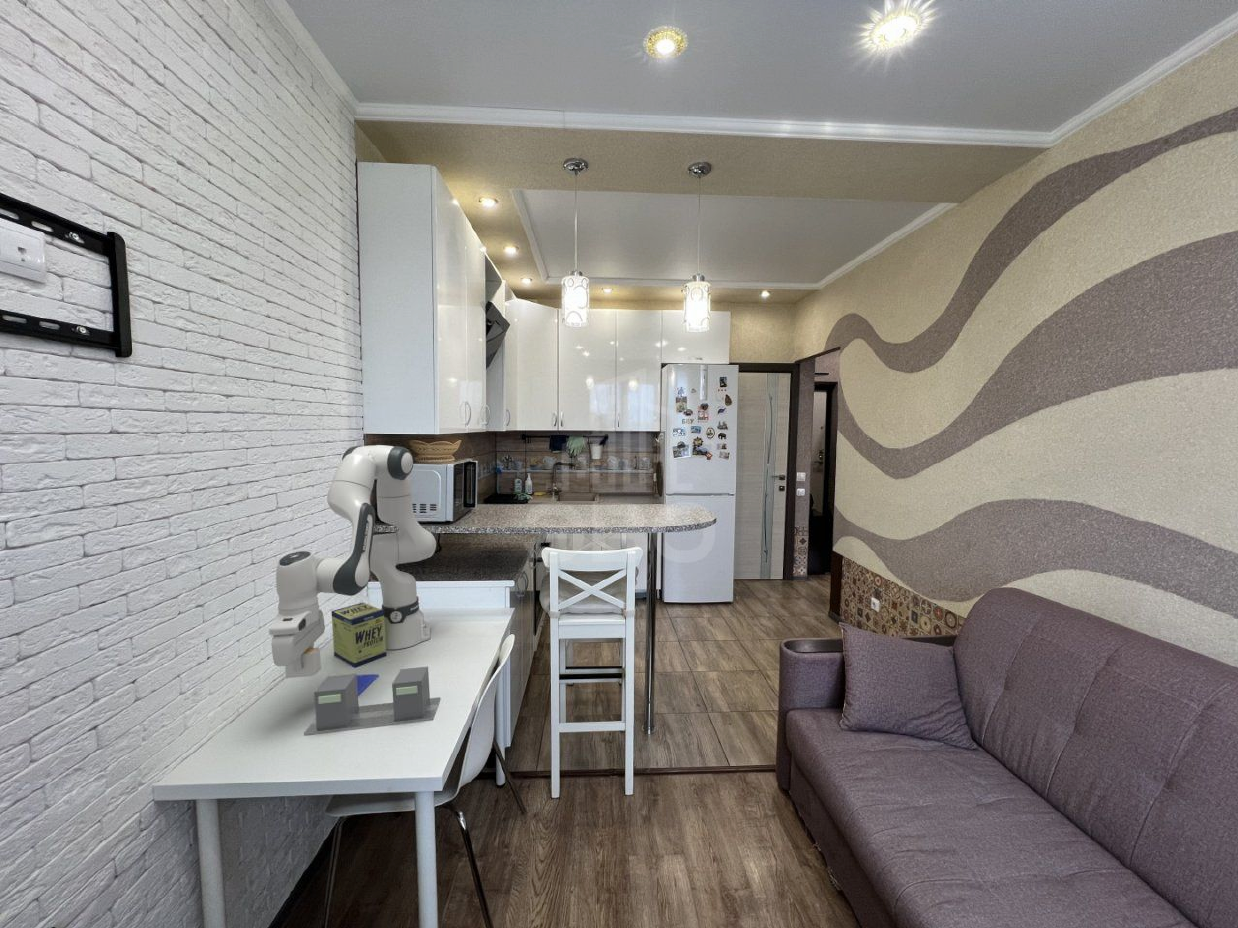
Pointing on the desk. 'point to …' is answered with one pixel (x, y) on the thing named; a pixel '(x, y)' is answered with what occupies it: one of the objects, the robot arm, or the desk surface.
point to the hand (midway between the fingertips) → (303, 665)
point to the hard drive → (365, 682)
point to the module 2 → (411, 693)
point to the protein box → (358, 634)
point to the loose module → (306, 664)
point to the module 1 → (336, 701)
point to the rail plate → (376, 717)
